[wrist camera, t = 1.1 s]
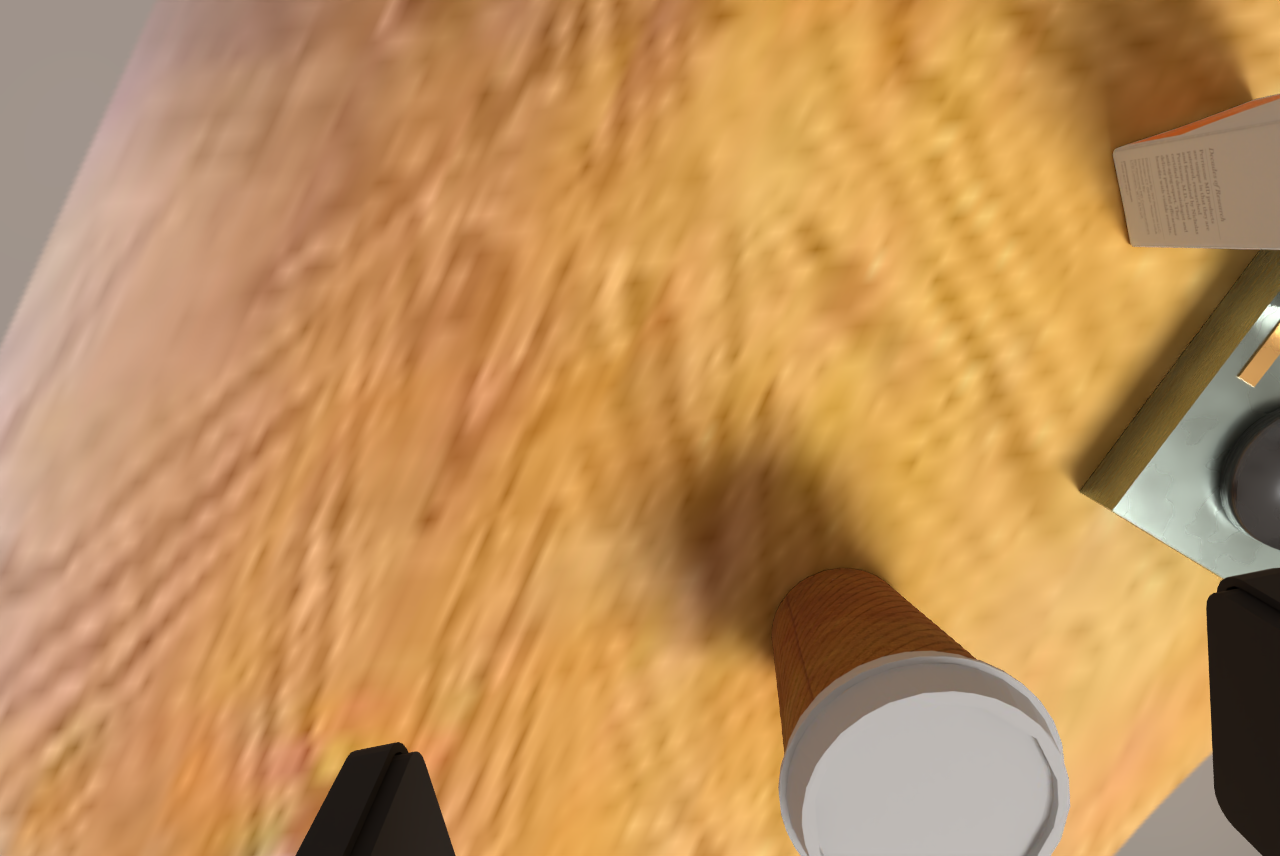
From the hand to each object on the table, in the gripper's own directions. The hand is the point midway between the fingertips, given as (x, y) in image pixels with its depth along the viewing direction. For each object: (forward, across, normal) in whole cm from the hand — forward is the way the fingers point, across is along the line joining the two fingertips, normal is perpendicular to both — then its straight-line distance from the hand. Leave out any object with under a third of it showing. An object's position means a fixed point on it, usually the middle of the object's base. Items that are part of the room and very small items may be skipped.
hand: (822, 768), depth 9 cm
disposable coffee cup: (+26, -5, +13) cm, 29 cm away
